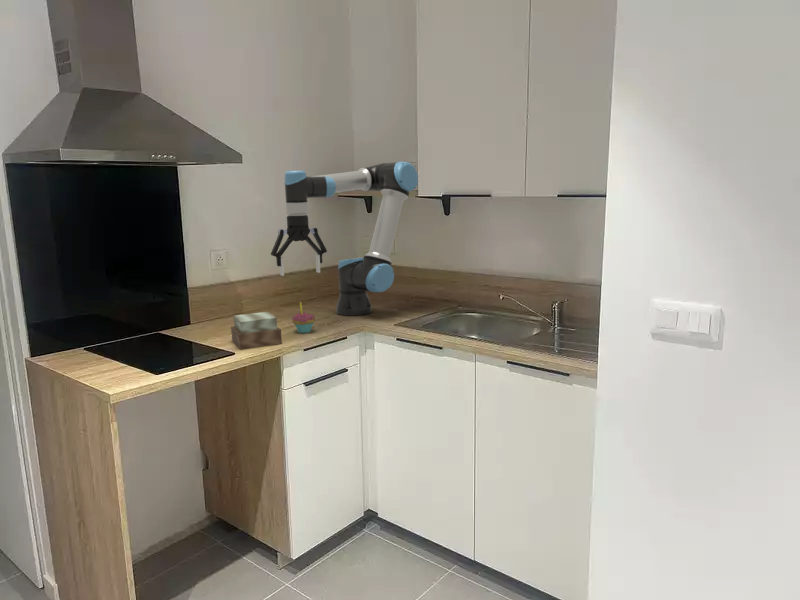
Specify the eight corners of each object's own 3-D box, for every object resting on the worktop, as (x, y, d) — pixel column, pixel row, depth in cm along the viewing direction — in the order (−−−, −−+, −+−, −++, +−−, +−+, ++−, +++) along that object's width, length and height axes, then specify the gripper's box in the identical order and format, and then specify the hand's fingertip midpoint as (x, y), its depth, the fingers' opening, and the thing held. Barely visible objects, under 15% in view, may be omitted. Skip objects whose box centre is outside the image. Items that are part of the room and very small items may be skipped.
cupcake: (310, 334, 209) (309, 302, 207) (288, 334, 211) (286, 301, 208) (318, 329, 217) (317, 297, 215) (297, 328, 219) (295, 297, 217)
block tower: (271, 335, 209) (269, 310, 208) (281, 343, 197) (280, 317, 195) (232, 340, 203) (230, 315, 202) (240, 349, 191) (238, 323, 189)
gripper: (326, 213, 215) (329, 270, 218) (260, 215, 204) (263, 275, 208) (333, 213, 208) (336, 272, 212) (265, 216, 197) (269, 277, 201)
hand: (300, 273), depth 210 cm, fingers open, 13 cm apart
